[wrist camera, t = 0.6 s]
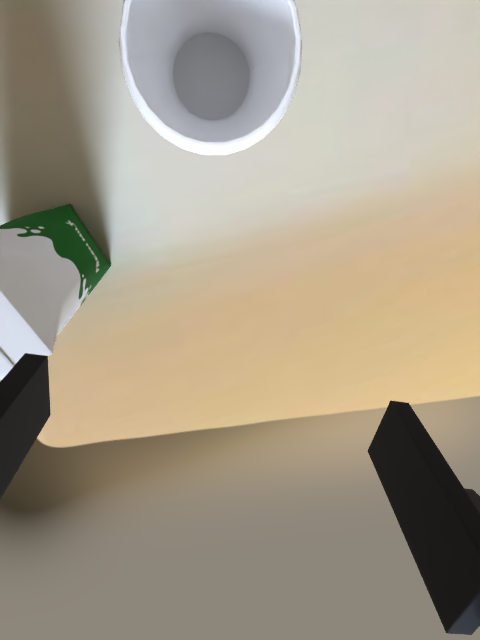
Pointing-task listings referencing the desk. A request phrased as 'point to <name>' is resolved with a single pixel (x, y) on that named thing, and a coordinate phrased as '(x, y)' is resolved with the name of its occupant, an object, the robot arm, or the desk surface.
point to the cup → (211, 68)
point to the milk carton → (43, 280)
